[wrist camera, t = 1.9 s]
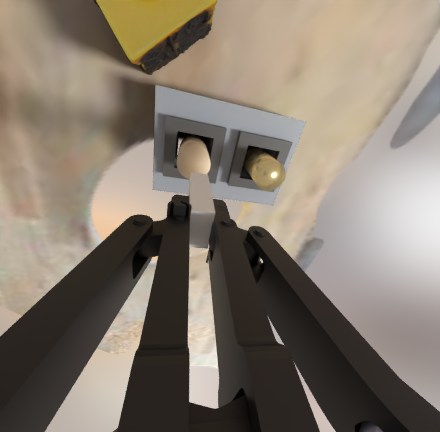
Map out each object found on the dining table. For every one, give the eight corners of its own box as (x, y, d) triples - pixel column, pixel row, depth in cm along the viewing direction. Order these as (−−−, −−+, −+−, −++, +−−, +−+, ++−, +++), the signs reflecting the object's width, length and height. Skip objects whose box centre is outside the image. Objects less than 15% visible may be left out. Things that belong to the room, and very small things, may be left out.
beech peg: (178, 160, 29) (175, 177, 23) (181, 132, 27) (178, 143, 21) (204, 164, 30) (207, 182, 24) (208, 138, 28) (213, 149, 22)
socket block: (158, 176, 35) (151, 193, 29) (162, 86, 28) (153, 84, 22) (262, 191, 39) (275, 208, 33) (288, 117, 32) (310, 122, 26)
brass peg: (240, 170, 31) (251, 188, 25) (246, 145, 29) (261, 158, 23) (262, 174, 32) (279, 192, 26) (270, 150, 30) (290, 164, 24)
